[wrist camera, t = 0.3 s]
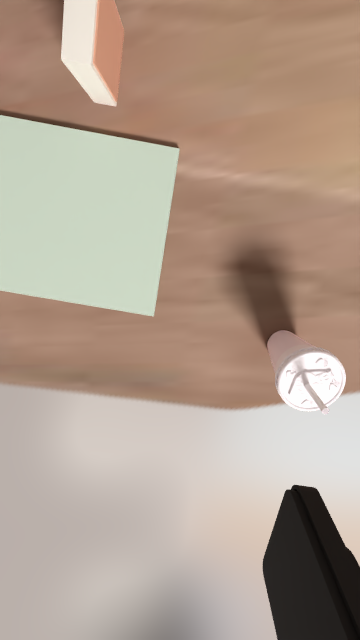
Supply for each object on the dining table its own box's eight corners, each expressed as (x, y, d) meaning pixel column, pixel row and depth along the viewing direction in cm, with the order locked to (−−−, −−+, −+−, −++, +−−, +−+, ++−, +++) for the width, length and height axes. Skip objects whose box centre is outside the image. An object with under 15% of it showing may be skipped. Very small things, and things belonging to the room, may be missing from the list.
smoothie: (246, 335, 39) (278, 395, 26) (295, 309, 38) (354, 357, 25) (270, 377, 41) (311, 453, 27) (317, 352, 40) (384, 420, 26)
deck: (100, 24, 30) (66, -53, 22) (125, 29, 30) (101, -46, 22) (94, 102, 32) (61, 59, 24) (117, 106, 32) (92, 65, 24)
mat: (-16, 113, 33) (-20, 111, 32) (179, 149, 33) (179, 148, 33) (-15, 286, 38) (-18, 287, 37) (154, 314, 39) (153, 316, 38)
